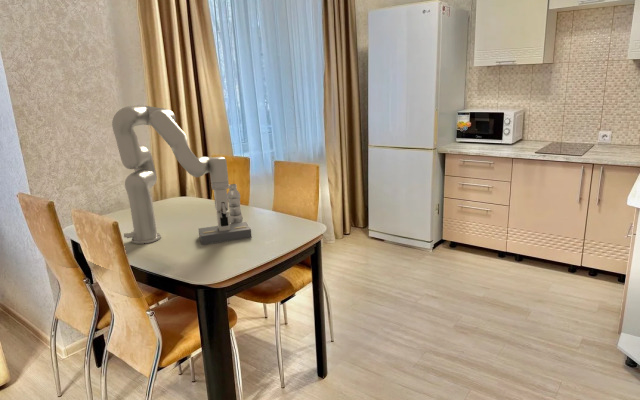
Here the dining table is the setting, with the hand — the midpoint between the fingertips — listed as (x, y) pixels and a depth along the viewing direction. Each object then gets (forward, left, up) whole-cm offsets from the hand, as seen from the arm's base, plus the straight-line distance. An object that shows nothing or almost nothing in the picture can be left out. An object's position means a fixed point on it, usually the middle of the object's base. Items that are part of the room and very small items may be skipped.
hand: (223, 224), depth 200 cm
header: (0, 0, -6) cm, 6 cm away
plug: (0, 0, -6) cm, 6 cm away
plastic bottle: (+8, +18, -6) cm, 21 cm away
